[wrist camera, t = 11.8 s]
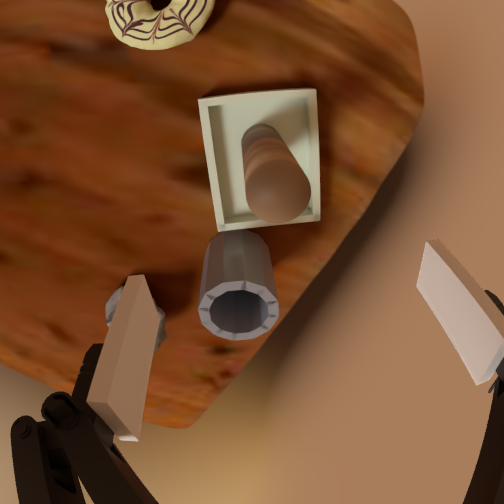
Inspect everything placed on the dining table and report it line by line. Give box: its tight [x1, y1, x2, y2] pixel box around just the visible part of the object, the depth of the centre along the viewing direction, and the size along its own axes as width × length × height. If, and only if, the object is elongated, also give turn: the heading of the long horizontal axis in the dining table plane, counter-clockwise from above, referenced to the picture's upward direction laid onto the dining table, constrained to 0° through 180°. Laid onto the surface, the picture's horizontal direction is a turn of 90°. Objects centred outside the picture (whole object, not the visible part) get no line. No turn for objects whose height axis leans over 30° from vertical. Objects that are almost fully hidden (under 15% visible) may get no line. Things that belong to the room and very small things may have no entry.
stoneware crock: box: [198, 229, 279, 341], centre depth 35 cm, size 8×8×10 cm
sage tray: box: [198, 88, 320, 232], centre depth 32 cm, size 14×11×2 cm
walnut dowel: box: [241, 124, 311, 223], centre depth 26 cm, size 5×4×14 cm
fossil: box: [106, 286, 167, 353], centre depth 39 cm, size 11×9×8 cm
